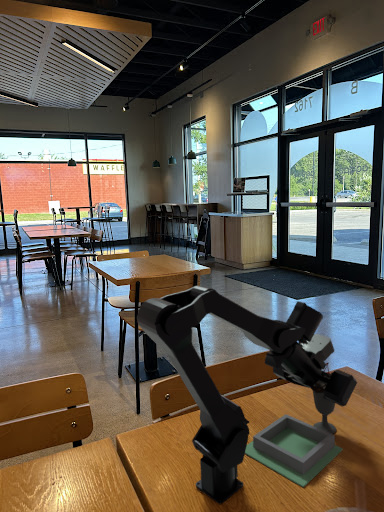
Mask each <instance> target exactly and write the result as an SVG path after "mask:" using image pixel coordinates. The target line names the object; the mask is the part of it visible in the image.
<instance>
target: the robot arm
mask: <svg viewBox="0 0 384 512" xmlns="http://www.w3.org/2000/svg"><path fill="white" fill-rule="evenodd" d="M207 315H210V316H213V317H214V318H215V319H216V318H217V319H218V320H221V321H222V322H224V323H226V324H228V325H230V326H231V327H234V328H235V329H237V330H239V331H240V332H242V333H243V335H244V337H245V338H246V339H248V340H249V341H250V342H251V343H253V344H254V345H256V346H259V347H261V348H264V349H266V350H269V351H268V352H266V353H265V355H266V356H265V358H264V364H265V365H266V366H269V367H271V368H272V372H273V374H274V375H276V377H279V378H280V379H283V380H284V381H287V382H288V383H291V384H293V385H296V386H300V387H305V388H308V389H311V390H312V387H313V385H316V384H317V382H318V381H319V382H321V383H323V384H326V386H325V389H324V397H323V398H325V399H327V400H329V401H331V402H333V403H335V405H338V406H340V407H342V408H343V407H346V406H347V405H348V402H349V400H350V398H351V397H352V395H353V392H354V390H355V388H356V386H357V384H358V381H357V379H356V378H355V377H354V375H352V374H350V373H348V372H345V371H342V370H340V369H336V370H333V371H332V372H331V373H330V372H329V373H330V374H329V373H327V372H328V371H327V372H326V371H325V372H324V370H326V369H325V368H326V365H327V364H326V363H327V362H325V361H326V360H327V359H328V358H329V357H330V356H331V355H332V354H334V353H335V347H334V345H333V342H332V340H331V339H332V338H330V337H328V336H325V335H322V334H318V333H316V331H317V330H318V328H319V326H320V324H321V322H322V320H323V319H324V315H323V314H322V312H320V311H319V310H316V309H315V308H314V307H312V306H309V305H307V303H306V302H303V301H296V303H295V305H294V307H293V310H292V312H291V313H290V314H289V316H288V318H287V320H286V321H283V320H279V319H271V318H267V317H265V316H261V315H258V314H256V313H254V312H252V311H250V310H249V309H247V308H245V307H244V306H241V305H240V304H238V303H236V302H234V301H233V300H231V299H229V298H227V297H226V296H224V295H223V294H220V293H219V292H218V291H217V290H216V289H215V288H210V287H207V286H204V285H195V286H192V287H190V288H188V289H186V290H182V291H178V292H174V293H171V294H167V295H164V296H162V297H152V298H148V299H147V300H145V301H144V302H143V303H142V304H141V305H140V307H139V308H138V312H137V315H136V320H137V324H138V326H139V328H140V329H141V330H142V331H143V332H144V333H145V334H146V335H147V336H148V337H149V339H151V340H152V341H153V342H154V343H155V344H156V345H157V346H158V347H159V348H160V349H162V350H163V351H164V352H165V353H166V355H167V357H168V358H169V360H170V362H171V363H172V366H174V369H175V370H176V372H177V374H178V376H179V377H180V379H181V380H182V382H183V383H184V385H185V387H186V389H187V390H188V392H189V393H190V395H191V396H192V398H193V400H194V401H195V404H196V405H197V407H198V408H199V422H200V424H201V425H200V426H199V428H198V430H197V431H196V433H195V435H194V436H193V438H192V440H191V442H192V445H193V447H194V449H195V450H197V451H198V452H199V453H201V454H202V457H201V458H200V459H199V460H200V462H199V463H200V480H198V481H197V482H195V487H196V488H197V490H199V491H201V492H202V493H204V494H205V495H206V496H207V497H209V498H210V499H212V500H213V501H214V502H215V503H217V504H218V505H222V504H223V503H224V502H226V501H227V500H229V499H230V498H231V497H232V496H233V495H234V494H236V493H237V492H239V491H240V490H241V489H242V488H243V487H244V482H243V481H241V480H240V479H239V478H238V477H239V476H238V466H239V465H241V464H242V463H243V462H244V458H245V455H246V454H245V450H246V446H247V445H248V442H249V435H250V428H249V425H248V424H250V421H249V420H248V419H247V418H246V417H245V414H244V411H243V408H242V407H241V405H239V404H237V403H236V402H234V401H232V400H231V399H229V398H227V397H226V396H224V395H222V394H221V392H220V391H219V390H218V387H217V386H216V384H215V382H214V380H213V379H212V377H211V375H210V373H209V372H208V369H207V368H206V366H205V364H204V362H203V360H202V359H201V357H200V355H199V353H198V351H197V350H196V348H195V346H194V345H193V328H194V327H197V326H198V325H200V323H201V322H202V321H203V320H204V318H205V317H206V316H207ZM323 376H324V377H323ZM326 377H327V378H326Z"/></svg>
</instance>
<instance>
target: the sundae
mask: <svg viewBox="0 0 384 512" xmlns="http://www.w3.org/2000/svg"><path fill="white" fill-rule="evenodd" d="M325 363H326V364H327V365H326V367H325V369H323V371H324V372H326V369H327V373H329V374H331V373H330V370H329V362H325ZM323 377H324V376H323ZM326 378H327V377H326ZM325 386H326V384H323V383H321V382H319V381H318V382H317V384H316V385H313V387H312V389H311V390H312V396H313V401H314V406H315V409H316V411H317V412H318V413H319V414H321V421H318V422H316V423H314V424H313V426H314V427H317V428H319V429H321V430H324V431H326V432H328V433H330V434H333V435H334V434H335V433H336V432H337V427H336V426H335V425H334V424H332V423H330V422H328V416H329V415H330V414H332V413H333V412H334V411H335V406H336V403H333V402H331V401H329V400H327V399H325V398H323V397H324V389H325Z"/></svg>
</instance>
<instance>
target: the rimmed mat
mask: <svg viewBox="0 0 384 512" xmlns="http://www.w3.org/2000/svg"><path fill="white" fill-rule="evenodd" d="M335 438H336V437H335V435H334V433H333V434H330V433H328V432H326V431H324V430H321V429H319V428H317V427H314V425H311V424H310V423H307V422H305V421H304V420H303V421H302V420H300V419H298V418H295V417H293V416H291V415H289V414H287V413H285V414H284V415H283V416H281V417H279V418H278V419H276V420H275V421H273V422H272V423H271V424H269V425H268V426H266V427H265V428H263V429H262V430H260V431H259V432H257V433H256V434H254V435H253V436H252V441H250V442H249V443H247V446H246V450H245V455H246V456H248V457H250V458H251V459H253V460H255V461H257V462H258V463H260V464H262V465H264V466H266V467H267V468H268V469H270V470H272V471H274V472H276V473H278V475H281V476H282V477H285V479H287V480H289V481H291V482H293V483H295V484H296V485H298V486H300V487H301V488H304V487H306V486H307V484H309V483H310V482H311V480H313V479H314V478H315V477H316V476H317V475H318V474H319V473H320V472H321V471H322V470H324V469H325V467H326V466H328V465H329V463H331V462H332V461H333V460H334V459H335V458H337V456H338V455H339V454H340V453H341V452H343V449H344V448H342V447H340V446H338V445H336V443H335V442H336V441H335V440H336V439H335Z"/></svg>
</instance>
